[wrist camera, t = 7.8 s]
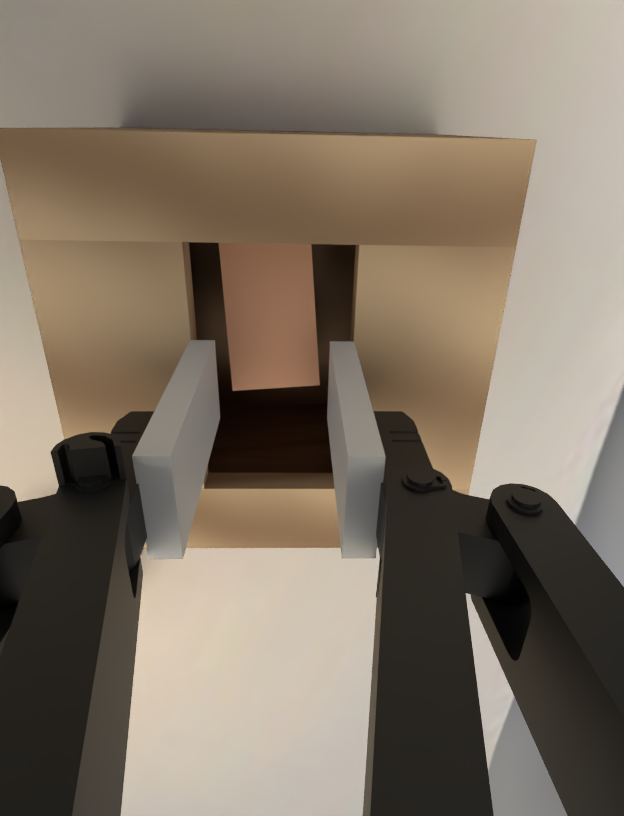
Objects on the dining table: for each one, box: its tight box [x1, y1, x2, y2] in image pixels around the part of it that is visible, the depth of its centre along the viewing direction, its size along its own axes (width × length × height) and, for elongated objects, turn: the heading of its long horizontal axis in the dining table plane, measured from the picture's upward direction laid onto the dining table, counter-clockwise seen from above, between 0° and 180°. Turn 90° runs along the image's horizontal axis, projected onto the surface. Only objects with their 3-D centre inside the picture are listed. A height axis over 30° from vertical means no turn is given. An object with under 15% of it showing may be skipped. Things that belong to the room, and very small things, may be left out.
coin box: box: [0, 128, 537, 548], centre depth 22 cm, size 14×14×11 cm
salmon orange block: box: [219, 243, 320, 391], centre depth 22 cm, size 6×3×8 cm, turn 3°
